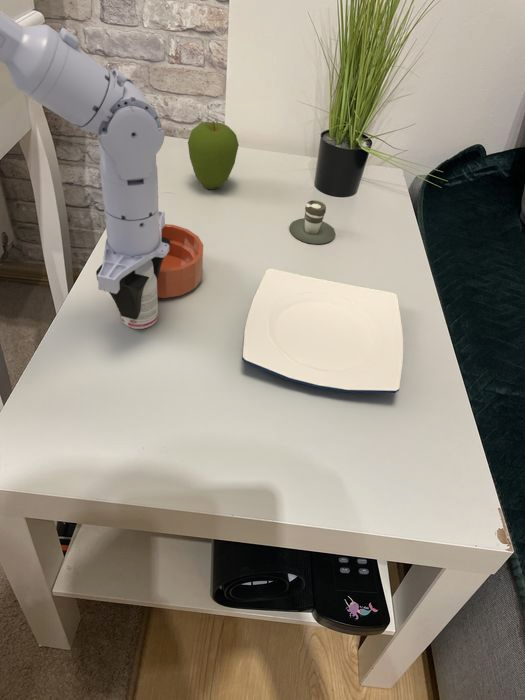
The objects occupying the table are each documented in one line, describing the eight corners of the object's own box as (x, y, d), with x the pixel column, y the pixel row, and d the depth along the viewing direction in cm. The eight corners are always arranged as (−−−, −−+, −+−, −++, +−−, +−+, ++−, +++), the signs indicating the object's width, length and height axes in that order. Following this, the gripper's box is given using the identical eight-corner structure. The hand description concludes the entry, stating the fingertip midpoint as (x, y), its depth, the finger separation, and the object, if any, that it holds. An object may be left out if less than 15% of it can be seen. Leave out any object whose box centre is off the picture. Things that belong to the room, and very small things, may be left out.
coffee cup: (359, 245, 86) (367, 218, 83) (296, 257, 82) (301, 229, 78) (323, 207, 93) (329, 182, 90) (263, 217, 89) (266, 190, 85)
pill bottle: (165, 315, 68) (164, 262, 62) (142, 335, 65) (138, 281, 59) (137, 300, 70) (133, 247, 64) (112, 319, 67) (106, 265, 61)
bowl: (115, 298, 70) (112, 268, 66) (128, 250, 78) (125, 220, 74) (199, 303, 71) (201, 274, 68) (203, 255, 79) (204, 227, 76)
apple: (206, 203, 90) (209, 137, 82) (177, 182, 94) (177, 117, 86) (244, 190, 94) (250, 126, 86) (215, 171, 98) (219, 108, 90)
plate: (400, 413, 61) (407, 398, 60) (230, 378, 62) (232, 363, 60) (397, 305, 76) (403, 290, 74) (260, 278, 77) (262, 263, 75)
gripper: (140, 250, 51) (146, 349, 60) (188, 184, 61) (187, 277, 71) (72, 234, 51) (88, 334, 61) (131, 171, 62) (137, 265, 71)
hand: (138, 303), depth 66 cm, fingers closed on pill bottle, 5 cm apart
